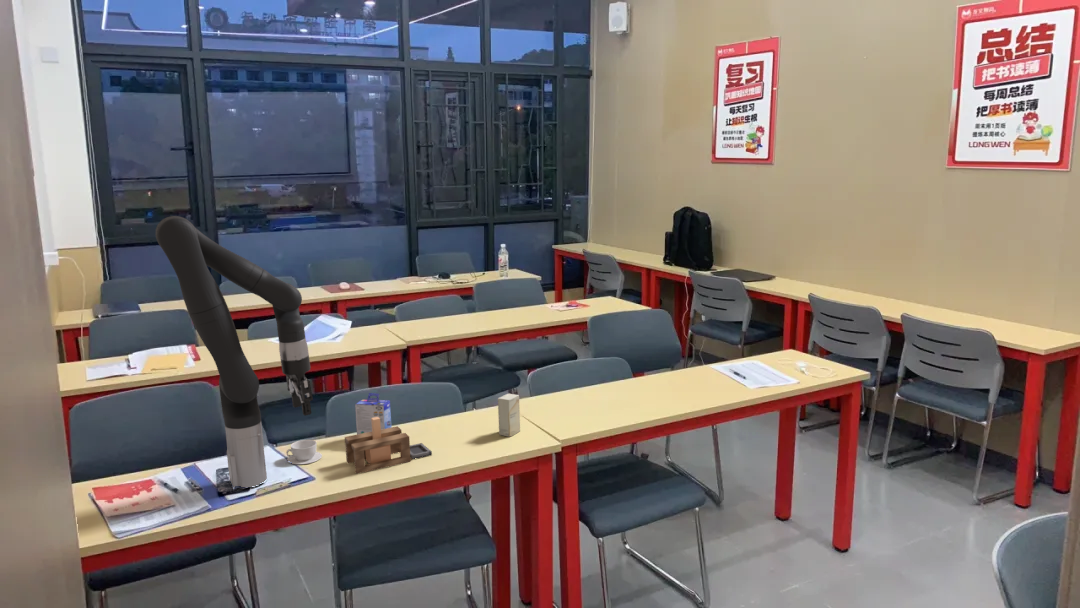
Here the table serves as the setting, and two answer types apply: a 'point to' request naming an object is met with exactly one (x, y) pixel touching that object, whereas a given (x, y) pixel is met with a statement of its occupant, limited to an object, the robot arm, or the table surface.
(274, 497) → the table surface
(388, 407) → the ink cartridge box
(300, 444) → the teacup
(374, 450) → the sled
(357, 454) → the tunnel
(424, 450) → the tray
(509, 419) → the skincare box
